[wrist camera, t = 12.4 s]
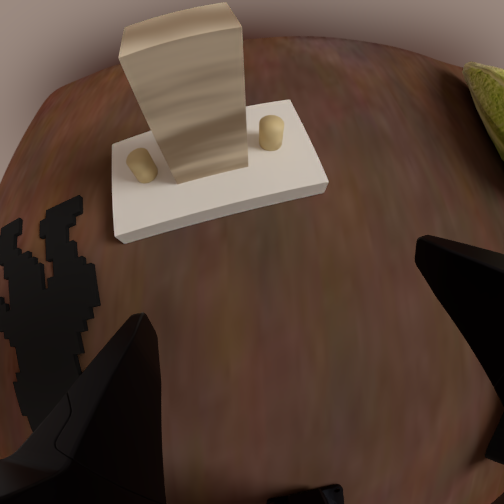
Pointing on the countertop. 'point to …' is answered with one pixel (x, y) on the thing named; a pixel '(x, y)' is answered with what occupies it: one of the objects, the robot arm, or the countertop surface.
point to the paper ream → (191, 88)
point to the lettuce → (488, 99)
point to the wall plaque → (497, 444)
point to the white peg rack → (214, 177)
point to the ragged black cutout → (47, 310)
